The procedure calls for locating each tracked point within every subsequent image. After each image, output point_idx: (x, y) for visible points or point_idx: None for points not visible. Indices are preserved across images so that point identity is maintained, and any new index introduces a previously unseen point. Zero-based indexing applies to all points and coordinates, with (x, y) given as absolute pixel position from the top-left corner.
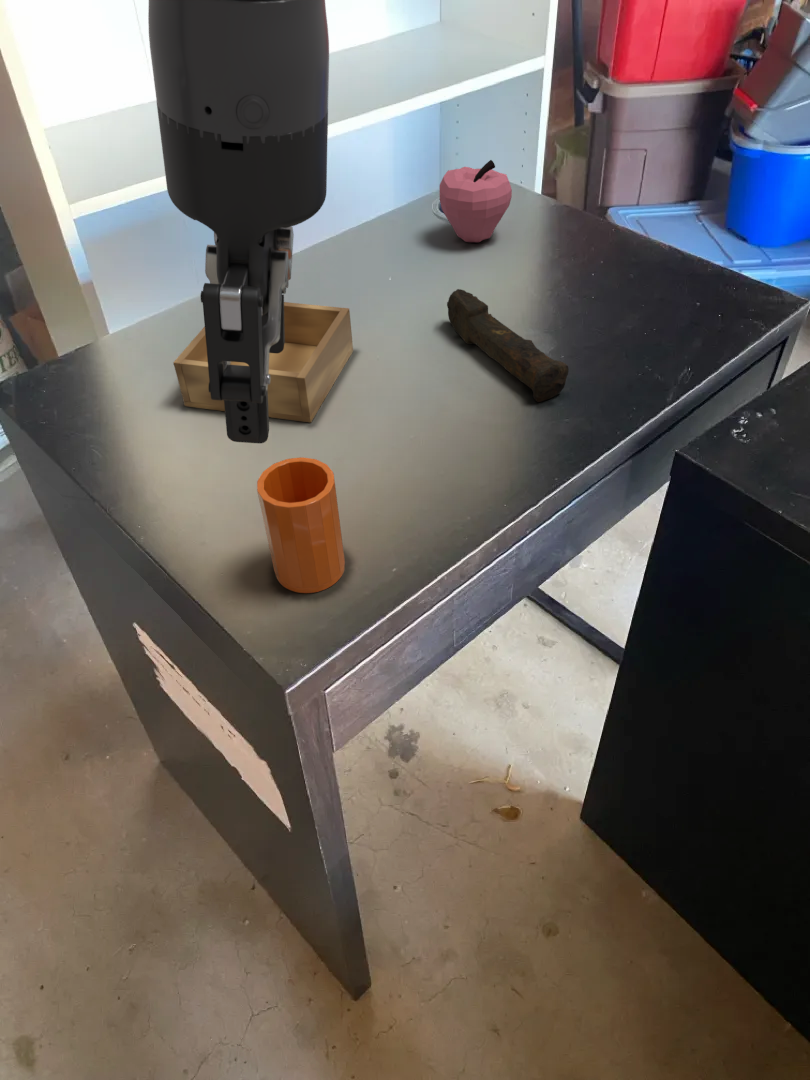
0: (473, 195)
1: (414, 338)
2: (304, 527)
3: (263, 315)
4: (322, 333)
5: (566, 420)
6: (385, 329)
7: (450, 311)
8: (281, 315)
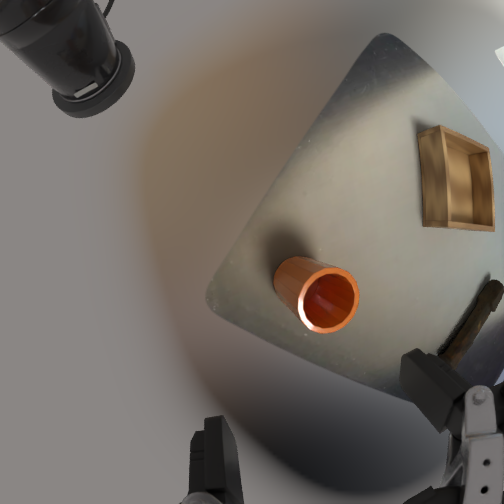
0: None
1: (481, 264)
2: (293, 311)
3: (432, 400)
4: (480, 212)
5: None
6: (485, 243)
7: (494, 283)
8: (428, 417)
